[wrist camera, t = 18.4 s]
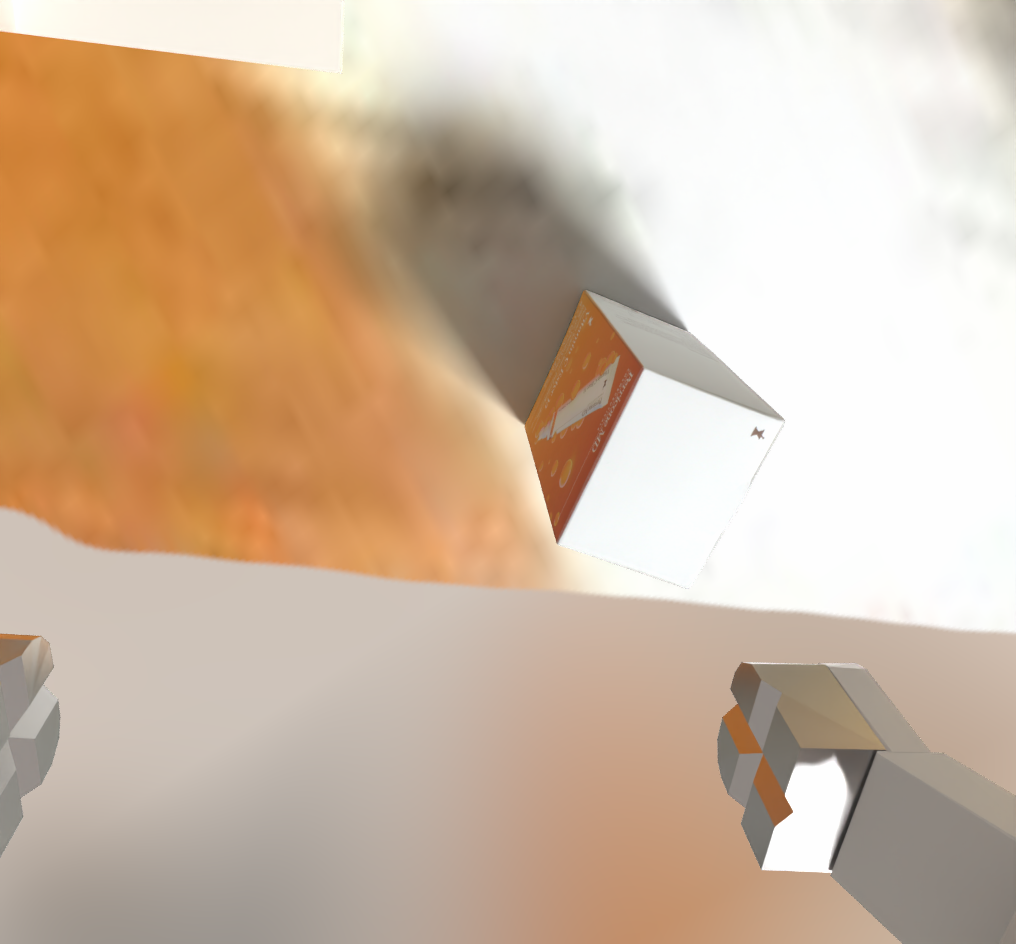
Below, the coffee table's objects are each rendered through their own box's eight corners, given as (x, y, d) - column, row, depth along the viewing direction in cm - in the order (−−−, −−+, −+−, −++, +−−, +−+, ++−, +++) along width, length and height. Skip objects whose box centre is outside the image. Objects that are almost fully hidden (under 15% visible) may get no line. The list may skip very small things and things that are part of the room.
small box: (582, 286, 42) (644, 362, 30) (692, 330, 43) (793, 420, 31) (519, 427, 44) (553, 548, 33) (625, 465, 46) (694, 593, 34)
